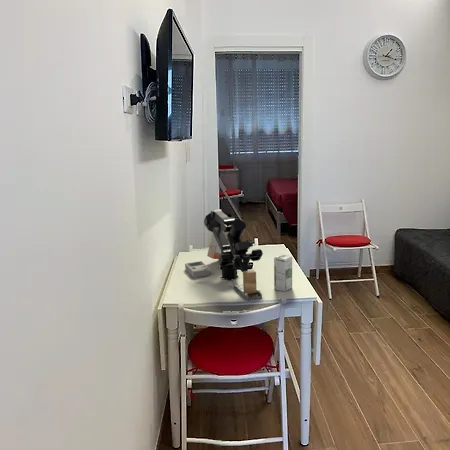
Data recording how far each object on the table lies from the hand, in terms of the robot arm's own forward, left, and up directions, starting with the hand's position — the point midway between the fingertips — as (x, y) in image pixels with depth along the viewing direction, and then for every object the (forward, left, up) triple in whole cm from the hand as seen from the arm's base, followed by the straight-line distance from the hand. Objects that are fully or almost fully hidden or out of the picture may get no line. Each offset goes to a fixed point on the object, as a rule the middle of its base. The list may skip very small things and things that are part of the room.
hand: (246, 274), depth 183 cm
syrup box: (+11, +12, -8) cm, 18 cm away
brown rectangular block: (+3, -2, -7) cm, 7 cm away
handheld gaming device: (-37, +11, -9) cm, 39 cm away
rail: (0, 0, -8) cm, 8 cm away
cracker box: (-38, +31, -7) cm, 50 cm away
